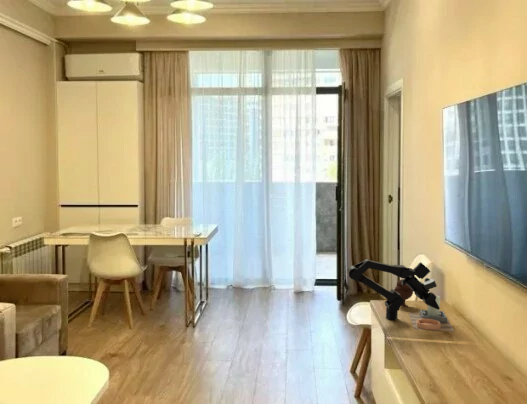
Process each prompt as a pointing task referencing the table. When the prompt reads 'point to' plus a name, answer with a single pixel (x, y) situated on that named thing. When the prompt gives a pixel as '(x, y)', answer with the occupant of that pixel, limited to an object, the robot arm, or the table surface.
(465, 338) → the table surface
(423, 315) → the parts tray
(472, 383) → the table surface
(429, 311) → the pale green tall cylinder
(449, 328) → the walnut board
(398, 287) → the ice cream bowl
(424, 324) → the terracotta dish
